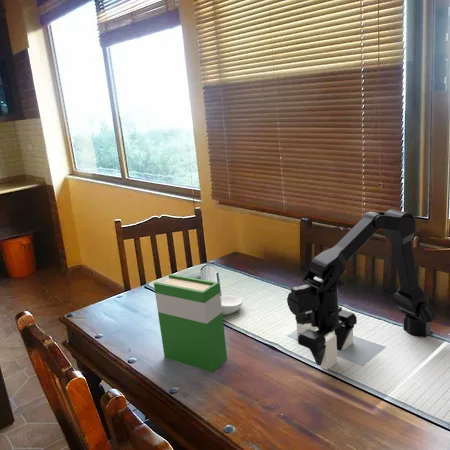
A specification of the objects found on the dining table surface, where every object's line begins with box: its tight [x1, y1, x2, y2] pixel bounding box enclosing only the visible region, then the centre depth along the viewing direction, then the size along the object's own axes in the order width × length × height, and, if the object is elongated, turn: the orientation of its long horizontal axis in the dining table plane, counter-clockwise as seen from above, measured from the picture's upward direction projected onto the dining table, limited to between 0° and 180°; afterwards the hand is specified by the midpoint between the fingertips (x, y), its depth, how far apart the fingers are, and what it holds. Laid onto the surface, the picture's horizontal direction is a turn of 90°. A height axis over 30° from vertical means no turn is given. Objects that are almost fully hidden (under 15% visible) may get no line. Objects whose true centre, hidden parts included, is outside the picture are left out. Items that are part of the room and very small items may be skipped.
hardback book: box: [153, 273, 228, 374], centre depth 133 cm, size 18×7×24 cm, turn 56°
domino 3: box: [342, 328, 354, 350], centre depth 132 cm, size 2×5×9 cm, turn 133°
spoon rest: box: [220, 295, 244, 316], centre depth 160 cm, size 24×12×7 cm, turn 140°
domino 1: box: [296, 322, 310, 334], centre depth 143 cm, size 2×5×9 cm, turn 133°
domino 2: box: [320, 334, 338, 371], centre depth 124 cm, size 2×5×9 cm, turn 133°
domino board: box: [286, 329, 386, 367], centre depth 137 cm, size 26×12×1 cm, turn 43°
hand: (329, 357), depth 125 cm, fingers open, 9 cm apart
